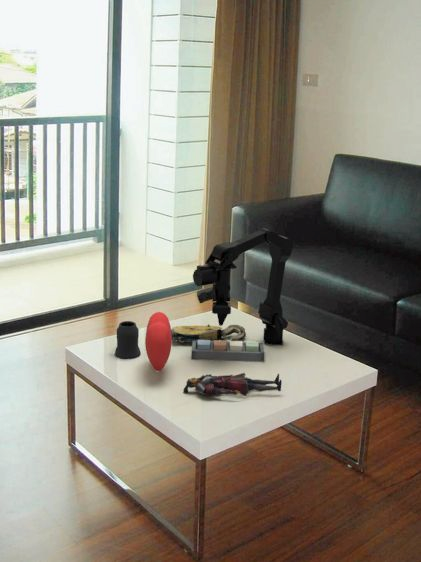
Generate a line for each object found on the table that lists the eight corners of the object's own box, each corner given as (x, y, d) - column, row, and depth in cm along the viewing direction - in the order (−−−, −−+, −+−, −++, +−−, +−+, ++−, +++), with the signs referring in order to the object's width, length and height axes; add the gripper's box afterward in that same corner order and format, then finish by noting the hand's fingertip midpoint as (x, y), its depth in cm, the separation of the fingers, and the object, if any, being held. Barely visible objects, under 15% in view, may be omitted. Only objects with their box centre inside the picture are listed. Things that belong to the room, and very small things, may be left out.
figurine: (283, 385, 224) (184, 384, 222) (282, 402, 226) (183, 401, 223) (277, 368, 236) (183, 367, 234) (275, 385, 238) (182, 383, 235)
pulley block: (249, 328, 266) (166, 329, 263) (249, 344, 267) (166, 345, 264) (243, 321, 280) (164, 322, 277) (243, 336, 281) (164, 337, 278)
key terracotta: (226, 347, 261) (226, 340, 260) (226, 351, 256) (226, 345, 256) (213, 346, 261) (213, 340, 260) (213, 351, 256) (213, 344, 256)
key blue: (210, 346, 261) (210, 340, 260) (210, 351, 256) (210, 344, 256) (197, 346, 261) (197, 339, 260) (197, 350, 256) (197, 344, 256)
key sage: (257, 348, 260) (258, 341, 260) (258, 352, 256) (258, 346, 256) (245, 347, 260) (245, 341, 260) (245, 352, 256) (246, 346, 256)
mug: (141, 358, 253) (142, 328, 250) (115, 359, 252) (114, 328, 249) (139, 345, 265) (139, 316, 261) (113, 346, 263) (113, 316, 260)
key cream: (241, 347, 261) (242, 341, 260) (242, 352, 256) (242, 345, 256) (229, 347, 261) (229, 340, 260) (229, 351, 256) (229, 345, 256)
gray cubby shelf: (262, 350, 264) (262, 342, 263) (264, 361, 254) (264, 353, 253) (192, 348, 264) (192, 340, 263) (191, 359, 254) (191, 351, 253)
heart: (146, 359, 253) (146, 307, 248) (171, 359, 254) (172, 307, 248) (143, 383, 234) (144, 328, 229) (171, 384, 235) (172, 328, 229)
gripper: (199, 273, 260) (198, 315, 265) (197, 289, 242) (196, 333, 247) (231, 274, 260) (229, 316, 265) (231, 290, 242) (229, 335, 247)
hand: (220, 324), depth 256 cm, fingers closed
